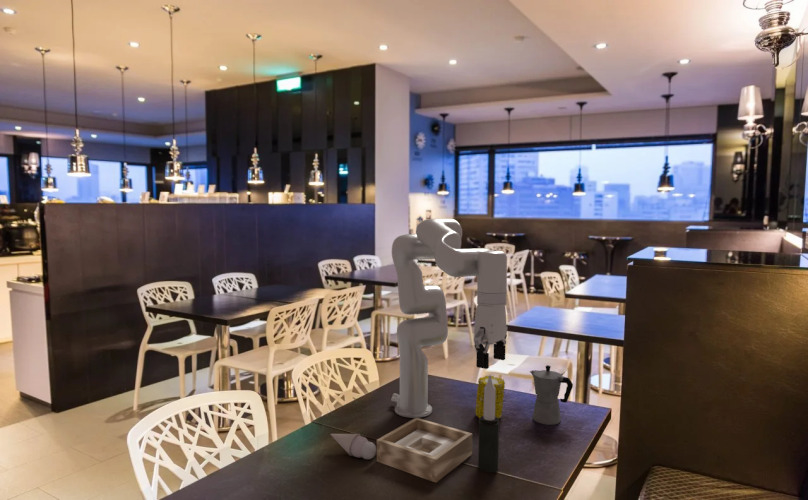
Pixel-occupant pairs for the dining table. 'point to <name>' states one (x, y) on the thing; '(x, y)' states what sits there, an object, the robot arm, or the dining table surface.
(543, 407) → the coffeepot
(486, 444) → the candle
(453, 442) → the box
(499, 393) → the food
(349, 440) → the ice cream cone
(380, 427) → the dining table surface
